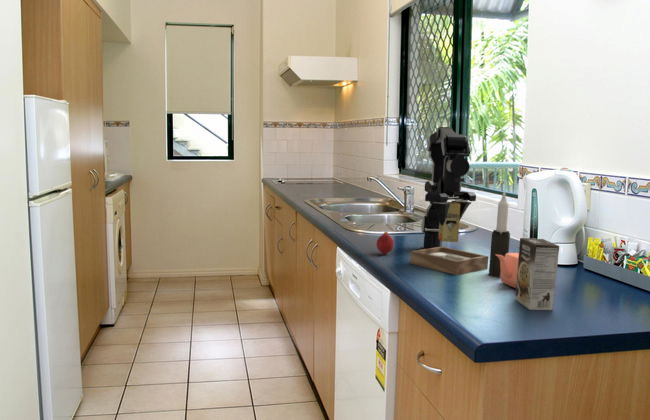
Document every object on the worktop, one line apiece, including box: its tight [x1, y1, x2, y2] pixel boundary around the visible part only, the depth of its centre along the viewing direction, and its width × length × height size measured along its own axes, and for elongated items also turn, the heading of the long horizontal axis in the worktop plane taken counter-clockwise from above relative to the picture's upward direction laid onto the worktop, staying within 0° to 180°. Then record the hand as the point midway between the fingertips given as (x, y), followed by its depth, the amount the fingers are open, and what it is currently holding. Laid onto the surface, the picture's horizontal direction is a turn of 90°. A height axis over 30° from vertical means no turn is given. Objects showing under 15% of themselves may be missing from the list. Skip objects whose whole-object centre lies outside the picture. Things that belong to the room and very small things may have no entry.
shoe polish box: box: [438, 201, 460, 243], centre depth 193 cm, size 5×5×12 cm
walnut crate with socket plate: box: [409, 246, 489, 276], centre depth 194 cm, size 16×18×4 cm
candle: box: [488, 192, 511, 278], centre depth 183 cm, size 5×5×25 cm
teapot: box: [496, 252, 519, 289], centre depth 170 cm, size 12×18×10 cm, turn 107°
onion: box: [376, 231, 395, 255], centre depth 208 cm, size 6×6×8 cm
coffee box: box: [514, 237, 560, 311], centre depth 152 cm, size 9×6×16 cm
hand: (449, 224), depth 193 cm, fingers closed on shoe polish box, 7 cm apart
